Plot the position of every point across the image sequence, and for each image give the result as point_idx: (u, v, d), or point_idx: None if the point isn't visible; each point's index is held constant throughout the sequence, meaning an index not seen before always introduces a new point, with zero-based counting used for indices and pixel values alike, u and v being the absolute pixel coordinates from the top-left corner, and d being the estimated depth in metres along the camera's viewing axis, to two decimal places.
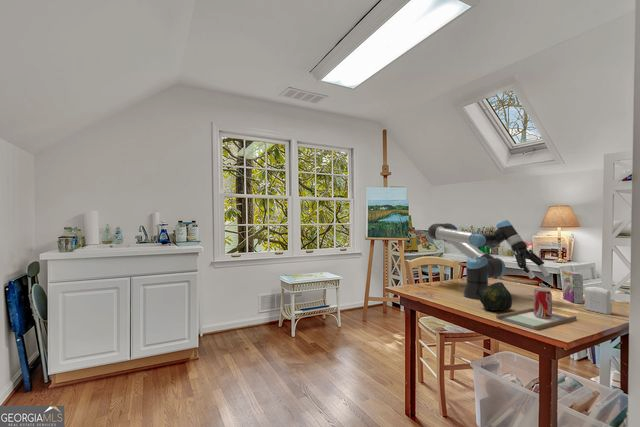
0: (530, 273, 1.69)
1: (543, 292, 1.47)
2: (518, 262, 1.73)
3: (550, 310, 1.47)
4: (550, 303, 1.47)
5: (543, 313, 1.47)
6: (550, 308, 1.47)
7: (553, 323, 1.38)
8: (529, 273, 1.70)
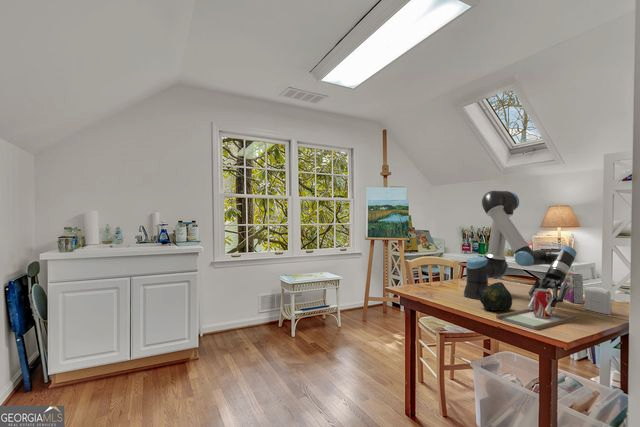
0: (550, 308, 1.45)
1: (543, 292, 1.47)
2: (562, 296, 1.45)
3: None
4: None
5: (543, 313, 1.47)
6: None
7: (553, 323, 1.38)
8: (550, 307, 1.45)
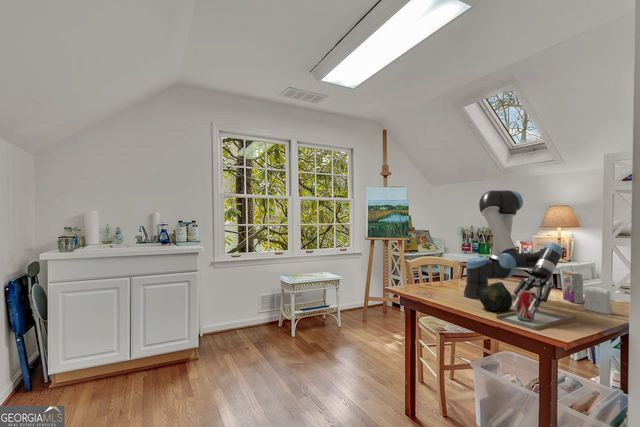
0: (533, 308, 1.40)
1: (527, 293, 1.43)
2: (546, 295, 1.40)
3: None
4: None
5: (525, 315, 1.43)
6: None
7: (553, 323, 1.38)
8: (533, 307, 1.40)
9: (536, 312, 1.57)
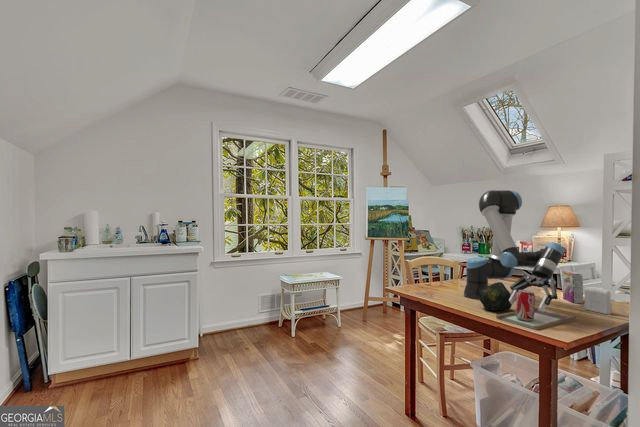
0: (544, 306, 1.38)
1: (526, 293, 1.44)
2: (555, 292, 1.39)
3: (532, 312, 1.43)
4: (532, 305, 1.43)
5: (525, 315, 1.43)
6: (532, 310, 1.43)
7: (553, 323, 1.38)
8: (544, 304, 1.38)
9: (536, 312, 1.57)
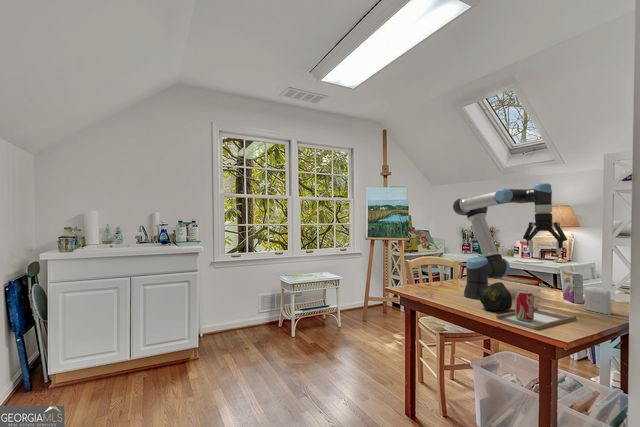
0: (560, 249, 1.59)
1: (524, 294, 1.44)
2: (563, 235, 1.57)
3: (531, 313, 1.43)
4: (531, 305, 1.43)
5: (524, 316, 1.43)
6: (531, 311, 1.43)
7: (553, 323, 1.38)
8: (559, 249, 1.59)
9: (536, 312, 1.57)
